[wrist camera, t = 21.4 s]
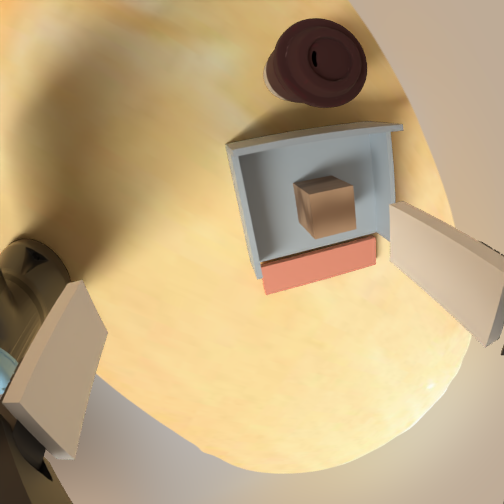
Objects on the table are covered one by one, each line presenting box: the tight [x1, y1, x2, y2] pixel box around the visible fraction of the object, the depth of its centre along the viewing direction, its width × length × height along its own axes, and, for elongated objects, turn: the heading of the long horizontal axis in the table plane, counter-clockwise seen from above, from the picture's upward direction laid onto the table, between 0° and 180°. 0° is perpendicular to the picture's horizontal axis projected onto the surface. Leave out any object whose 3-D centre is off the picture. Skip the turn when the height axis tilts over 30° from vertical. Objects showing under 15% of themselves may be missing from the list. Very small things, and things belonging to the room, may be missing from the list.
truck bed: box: [225, 121, 403, 279], centre depth 42 cm, size 22×18×9 cm
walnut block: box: [293, 175, 357, 239], centre depth 42 cm, size 6×6×7 cm
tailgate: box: [261, 236, 376, 295], centre depth 50 cm, size 20×1×5 cm
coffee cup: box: [263, 18, 367, 108], centre depth 32 cm, size 10×10×15 cm
